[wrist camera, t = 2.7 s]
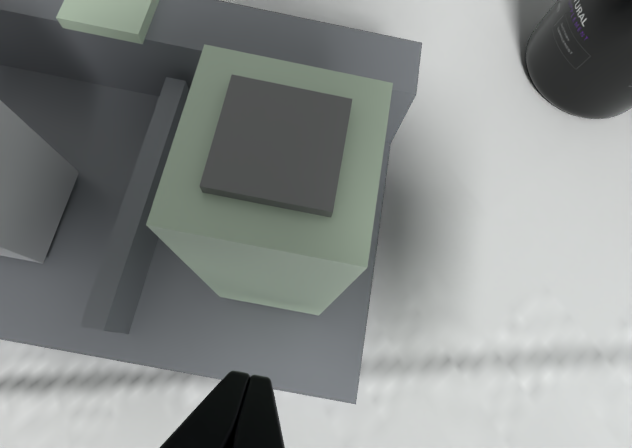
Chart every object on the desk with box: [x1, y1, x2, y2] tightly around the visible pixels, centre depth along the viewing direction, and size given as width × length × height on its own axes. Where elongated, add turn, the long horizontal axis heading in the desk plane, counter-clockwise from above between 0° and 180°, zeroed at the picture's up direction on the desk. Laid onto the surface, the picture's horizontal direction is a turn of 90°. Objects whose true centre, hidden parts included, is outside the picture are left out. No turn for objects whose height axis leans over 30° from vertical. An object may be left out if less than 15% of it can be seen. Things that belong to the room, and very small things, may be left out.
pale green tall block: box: [146, 44, 393, 316], centre depth 12 cm, size 4×4×10 cm
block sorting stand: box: [0, 0, 422, 404], centre depth 16 cm, size 14×30×6 cm, turn 80°
